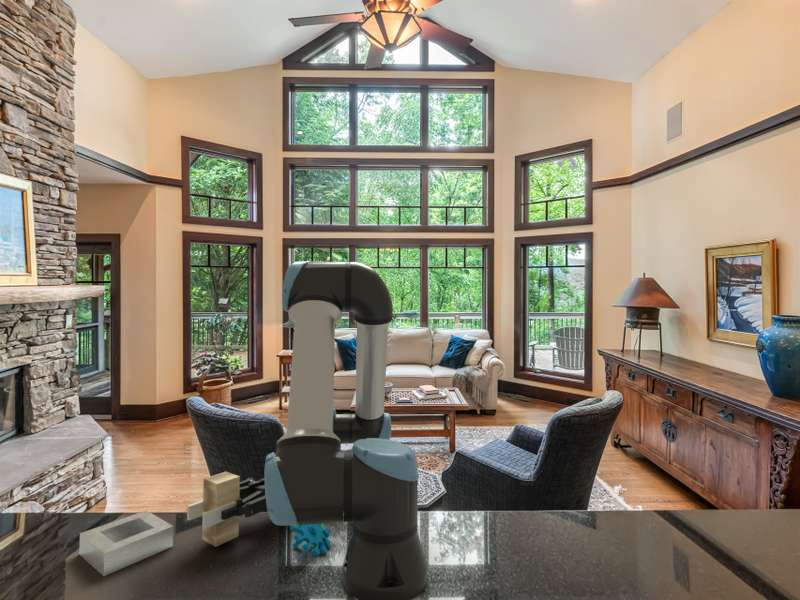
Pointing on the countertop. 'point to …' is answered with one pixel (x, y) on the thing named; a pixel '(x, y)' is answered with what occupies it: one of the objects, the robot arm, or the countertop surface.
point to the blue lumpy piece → (312, 537)
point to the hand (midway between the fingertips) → (195, 516)
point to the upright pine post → (218, 494)
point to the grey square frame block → (125, 542)
